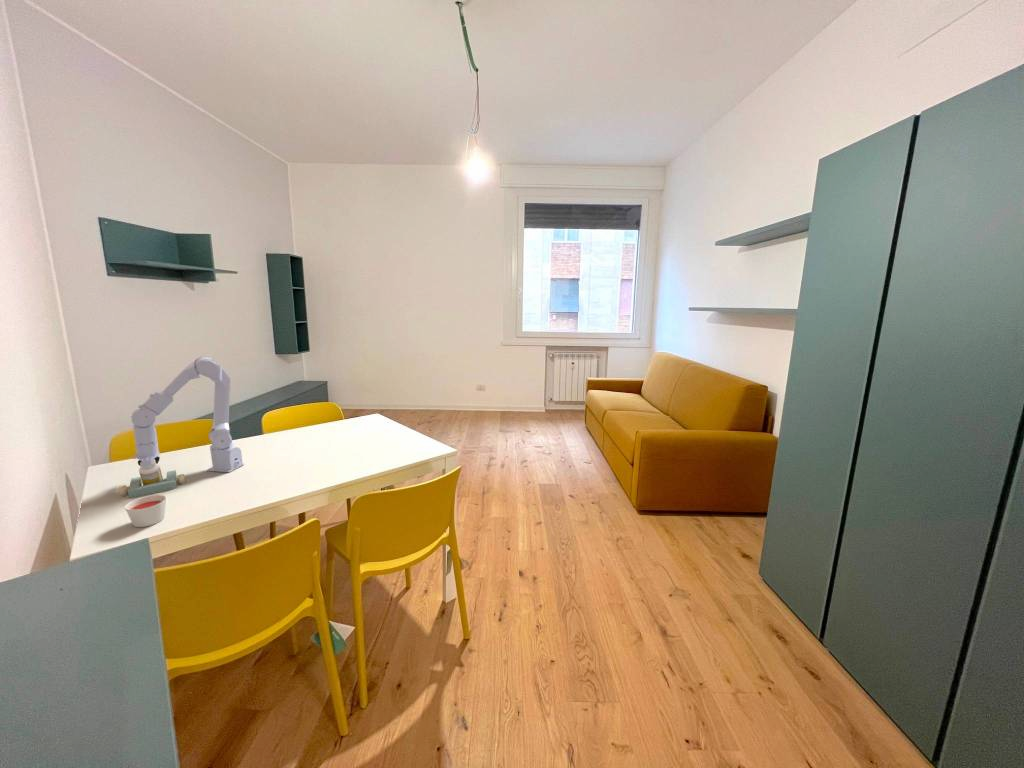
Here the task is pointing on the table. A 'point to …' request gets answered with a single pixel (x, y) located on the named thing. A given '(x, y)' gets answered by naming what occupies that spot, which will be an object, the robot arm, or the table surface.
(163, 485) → the slot block
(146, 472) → the supplement bottle
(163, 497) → the candle
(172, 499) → the table surface
